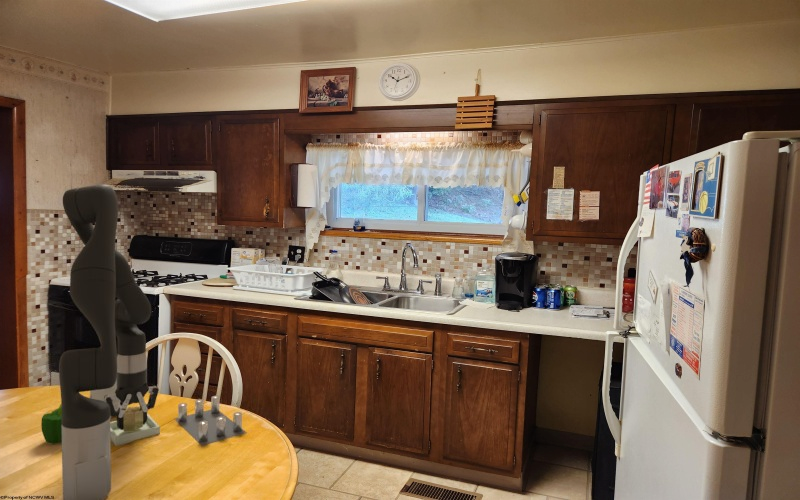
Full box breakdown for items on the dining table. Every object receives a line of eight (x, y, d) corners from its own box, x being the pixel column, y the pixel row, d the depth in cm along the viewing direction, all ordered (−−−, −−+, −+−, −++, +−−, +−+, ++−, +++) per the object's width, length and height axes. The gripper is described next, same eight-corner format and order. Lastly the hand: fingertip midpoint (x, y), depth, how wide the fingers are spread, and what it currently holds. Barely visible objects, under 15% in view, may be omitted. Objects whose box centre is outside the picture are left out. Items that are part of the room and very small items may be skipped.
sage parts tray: (159, 435, 143) (159, 426, 142) (115, 446, 135) (115, 437, 135) (147, 421, 151) (147, 413, 151) (105, 431, 143) (105, 423, 143)
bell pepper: (60, 449, 132) (59, 413, 131) (34, 445, 134) (33, 409, 133) (86, 435, 140) (85, 401, 140) (61, 432, 142) (60, 397, 141)
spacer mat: (246, 434, 145) (246, 432, 145) (201, 447, 136) (201, 445, 136) (216, 409, 161) (216, 408, 161) (173, 420, 152) (173, 418, 152)
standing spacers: (243, 430, 146) (243, 414, 146) (200, 442, 138) (200, 425, 137) (217, 410, 160) (217, 395, 159) (177, 420, 151) (177, 404, 151)
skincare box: (89, 414, 154) (88, 364, 153) (110, 407, 160) (109, 359, 159) (105, 420, 151) (105, 369, 149) (126, 412, 156) (126, 364, 155)
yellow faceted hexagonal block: (144, 428, 142) (144, 411, 142) (125, 433, 139) (125, 415, 138) (138, 421, 147) (138, 404, 146) (119, 425, 143) (119, 408, 143)
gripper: (106, 376, 134) (107, 438, 135) (163, 366, 143) (163, 424, 145) (99, 369, 139) (100, 428, 141) (154, 360, 149) (154, 415, 150)
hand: (132, 426), depth 143 cm, fingers closed on yellow faceted hexagonal block, 4 cm apart
